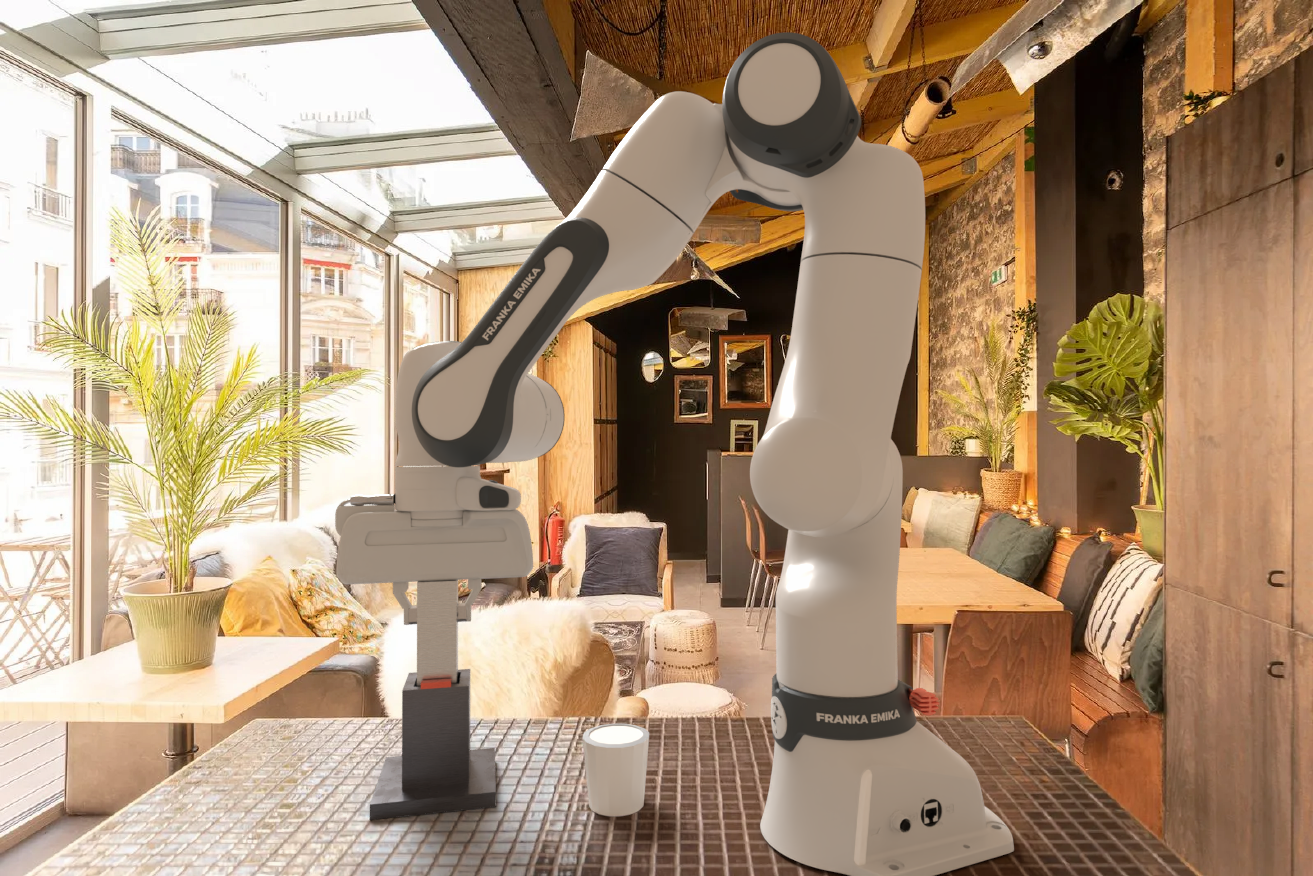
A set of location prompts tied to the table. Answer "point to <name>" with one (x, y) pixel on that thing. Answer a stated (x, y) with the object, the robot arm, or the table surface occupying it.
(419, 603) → the steel post
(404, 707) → the sleeve stand
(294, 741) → the table surface
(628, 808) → the white tapered cup
